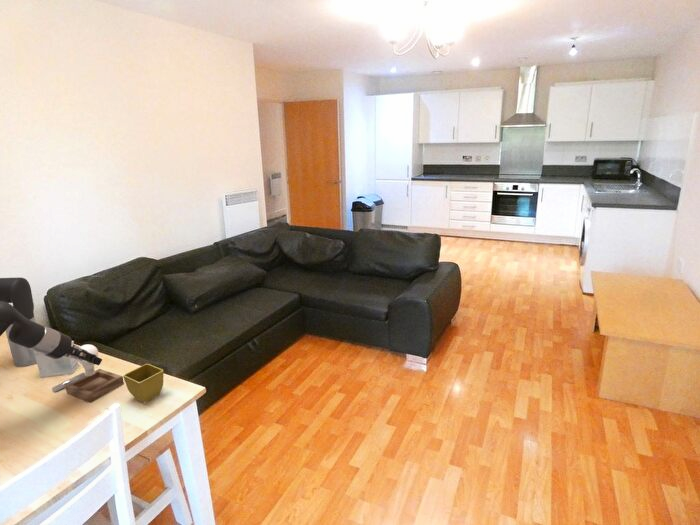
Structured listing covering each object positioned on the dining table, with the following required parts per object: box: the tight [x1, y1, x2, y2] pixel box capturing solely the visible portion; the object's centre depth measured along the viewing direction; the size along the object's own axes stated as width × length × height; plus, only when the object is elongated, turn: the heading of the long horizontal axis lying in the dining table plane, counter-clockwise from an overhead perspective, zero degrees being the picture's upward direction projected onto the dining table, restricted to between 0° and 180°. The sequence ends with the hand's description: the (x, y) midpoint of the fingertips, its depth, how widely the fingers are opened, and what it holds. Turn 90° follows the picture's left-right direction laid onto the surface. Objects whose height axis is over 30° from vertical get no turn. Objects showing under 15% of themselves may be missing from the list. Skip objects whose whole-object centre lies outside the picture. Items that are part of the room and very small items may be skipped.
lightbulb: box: [76, 343, 99, 376], centre depth 137 cm, size 6×6×11 cm
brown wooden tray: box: [64, 368, 125, 404], centre depth 141 cm, size 12×12×3 cm
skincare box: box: [34, 340, 80, 378], centre depth 151 cm, size 10×6×10 cm, turn 104°
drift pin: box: [51, 372, 86, 393], centre depth 144 cm, size 11×2×2 cm, turn 155°
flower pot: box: [123, 363, 164, 403], centre depth 135 cm, size 9×9×9 cm
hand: (93, 360), depth 139 cm, fingers closed on lightbulb, 6 cm apart
